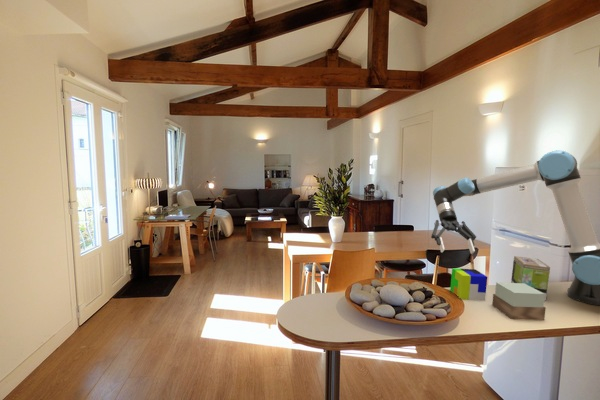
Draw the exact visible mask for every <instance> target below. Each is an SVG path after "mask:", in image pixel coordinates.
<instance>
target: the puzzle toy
mask: <svg viewBox="0 0 600 400" xmlns="http://www.w3.org/2000/svg"><path fill="white" fill-rule="evenodd" d="M487 285H488V276H487V275H485V274H484V273H482V272H481V271H479V270H477V269H473V268H453V267H452V268H451V279H450V287H449V288H450V289H449V291H451V293H452V294H454V293H455V294H456V295H458V296H459V297H460V298H461V299H460V298H459V297H458V298H459V299H460V300H471V301H486V297H487V295H486V294H487ZM455 294H454V295H455ZM456 295H455V296H456Z"/></svg>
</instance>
